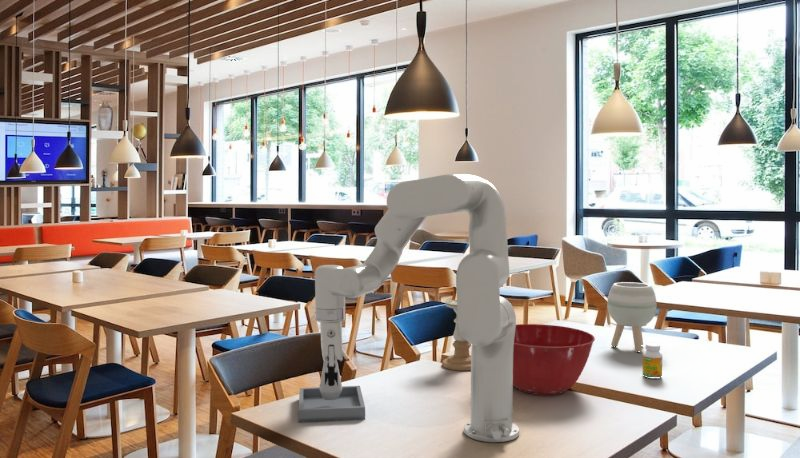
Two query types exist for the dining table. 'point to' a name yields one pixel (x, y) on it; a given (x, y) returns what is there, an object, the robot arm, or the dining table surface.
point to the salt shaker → (327, 390)
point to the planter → (631, 309)
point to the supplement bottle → (652, 361)
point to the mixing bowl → (549, 357)
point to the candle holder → (458, 347)
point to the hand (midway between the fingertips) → (331, 385)
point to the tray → (331, 405)
